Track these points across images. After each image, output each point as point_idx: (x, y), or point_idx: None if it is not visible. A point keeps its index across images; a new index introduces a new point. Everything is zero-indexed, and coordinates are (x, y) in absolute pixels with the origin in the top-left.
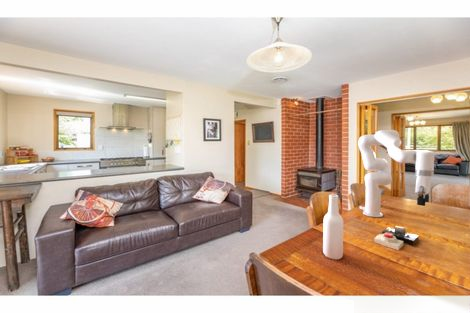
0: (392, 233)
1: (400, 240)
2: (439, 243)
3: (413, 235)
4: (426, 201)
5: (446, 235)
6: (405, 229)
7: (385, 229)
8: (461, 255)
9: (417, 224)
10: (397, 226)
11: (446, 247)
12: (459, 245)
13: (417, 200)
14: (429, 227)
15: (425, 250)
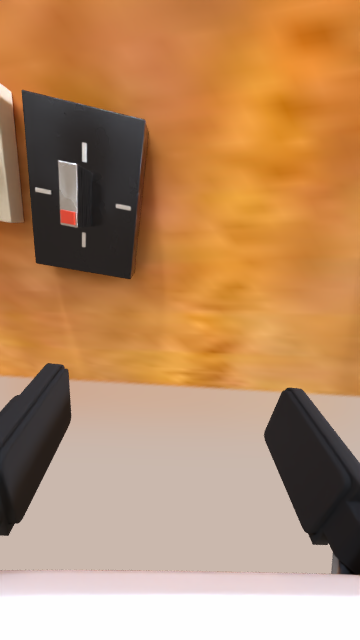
0: (47, 160)
1: (8, 209)
2: (161, 333)
3: (108, 260)
4: (271, 431)
5: (264, 352)
6: (77, 227)
7: (82, 107)
8: (103, 375)
9: (356, 265)
10: (66, 178)
11: (138, 348)
12: (187, 376)
13: (9, 409)
14: (333, 307)
15: (50, 296)
